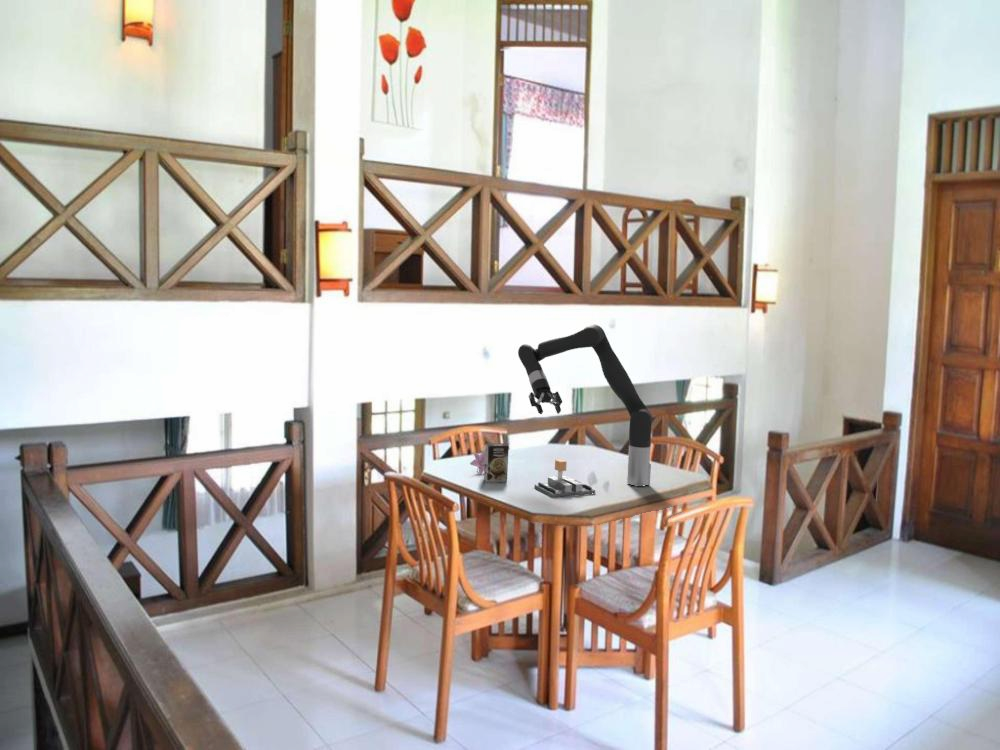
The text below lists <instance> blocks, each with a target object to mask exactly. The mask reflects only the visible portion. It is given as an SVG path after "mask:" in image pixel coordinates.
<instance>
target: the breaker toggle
mask: <svg viewBox="0 0 1000 750" xmlns="http://www.w3.org/2000/svg"><path fill="white" fill-rule="evenodd" d="M554 470H555V471H557V478H558V479H560V480H562V476H563V472H566V471H567V461H566V460H564V459H555V460H554Z"/></svg>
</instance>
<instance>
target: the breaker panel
mask: <svg viewBox="0 0 1000 750" xmlns="http://www.w3.org/2000/svg"><path fill="white" fill-rule="evenodd" d="M533 488H534V489H535V490H537V491H539V492H541V493H543V494H545V495H547V496H548V495H549V496H548V497H550V496H551V497H550V498H552V497H555V498H563V497H564V496H566V497H575V495H578V496H585V495H584V494H589V495H595V494H596V490H595V489H593V487H591V486H589V485H587V484H585V483H583V482H581V481H579V480H577V479H572V478H571V477H568V476H566V475H562V480H560V479H558V477H556V476H548V477H547V483H542V482H538V483H537V484H534V487H533ZM592 493H593V494H592ZM594 493H595V494H594ZM562 496H563V497H562Z"/></svg>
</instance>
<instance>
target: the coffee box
mask: <svg viewBox="0 0 1000 750" xmlns="http://www.w3.org/2000/svg"><path fill="white" fill-rule="evenodd" d="M484 450H485V466H484V471H483V480H484V481H485V482H486V483H487V482H488V484H489V483H507V482H508V471H509V470H508V469H509V467H508V466H509V445H508V444H506V443H502V442H501V443H495V442H494V443H493V442H492V443H486V442H485V446H484Z"/></svg>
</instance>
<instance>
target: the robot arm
mask: <svg viewBox="0 0 1000 750" xmlns="http://www.w3.org/2000/svg"><path fill="white" fill-rule="evenodd" d="M584 348H592V349H593V351H594V352H595V354H596V355H597V358H598V360H599V362H600V366H601V367H600V368H601V371H602V373H603V376H604V378H605V380H606V382H607V384H608V385H609V387H610V389H611V390H612V391H613V393H614V394H615V395H616V396H617V397H618V399H619V400H621V402H622V403H623V404H624V406H625V408H626V410H627V412H628V415H629V416H630V418H629V428H628V430H629V431H628V433H629V435H628V442H629V443H628V457H627V458H628V459H627V460H628V462H627V475H626V483H628V484H631V485H639V486H643V485H651V473H652V472H651V471H652V464H651V463H650V462H651V446H652V445H651V444H652V440H651V438H652V436H651V435H652V424H653V414H652V413H651V412H650V409H648V407H647V406H646V405H645V403H644V402H643V400H642V399H641V398H640V396H639V394H638V392H637V390H636V387H635V385H634V384H633V382H632V379H631V378H630V376H629V374H628V373H627V371H626V369H625V367H624V366H623V364H622V362H621V361H620V359H619V357H618V356H617V354H616V353H615V351H614V350H613V348H612V345H611V344H610V341H609V339H608V337H607V335H606V333H605V331H604V329H603V328H602V327H601V326H600V325H597V324H590V325H589V326H586V327H584V328H583V329H581V330H579V331H577V332H575V333H573V334H570V335H567V336H563V337H562V336H561V337H555V338H552V339H548V340H545V341H541V342H539V343H538V345H537V348H535V349H534V348H533V347H532V346H531V345H529V344H528V343H526V344H522V345H520V346H519V348H518V350H517V355H518V358H519V361H520V362H521V363H522V365H523V367H524V369H525V371H526V375H527V376H528V380H529V385H530V386H531V389H532V391H530V392H529V395H528V398H529V402H530V406H531V407H535V408H536V409H537V410H536V411H537V413H538V414H540V415H542V414H543V412H544V409H543V408H542V405H541V403H542V404H544V403H545V404H548V403H549V404H550V405H552V406H554V409H555V411H556V413H557V415H558V414H560V413H561V411H562V409H561V405H562V403H563V399H562V397H561V396H560V393H559V391H556V392H552V391H551V386H550V384H549V382H548V379H547V376H546V374H545V372H544V370H543V368H542V365H541V363H540V362H541V361H542V360H544V359H545V358H549V357H553V356H557V355H559V354H562V353H564V352H565V353H566V352H568V351H572V350H576V349H584ZM535 398H536V399H537V401H536V399H535ZM628 484H627V485H628ZM631 485H630V486H631Z"/></svg>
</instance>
